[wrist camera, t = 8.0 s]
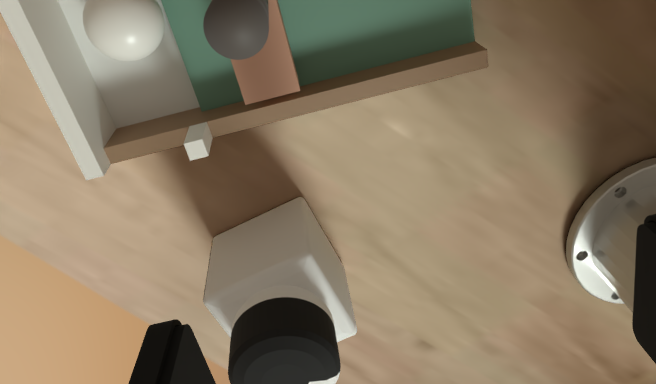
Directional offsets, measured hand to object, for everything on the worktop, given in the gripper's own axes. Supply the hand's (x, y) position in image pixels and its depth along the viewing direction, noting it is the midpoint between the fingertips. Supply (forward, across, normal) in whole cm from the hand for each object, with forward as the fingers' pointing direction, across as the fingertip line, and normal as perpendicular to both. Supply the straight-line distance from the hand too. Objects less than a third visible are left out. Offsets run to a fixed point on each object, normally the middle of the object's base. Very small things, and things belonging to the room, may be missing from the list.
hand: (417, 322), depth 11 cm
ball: (+21, +10, -5) cm, 24 cm away
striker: (+22, +4, -5) cm, 23 cm away
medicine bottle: (+25, +7, +13) cm, 29 cm away
